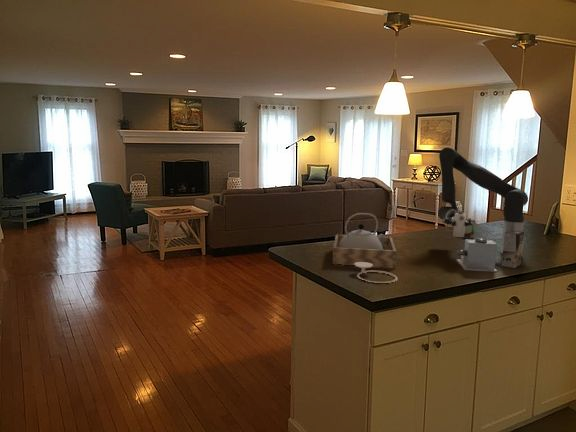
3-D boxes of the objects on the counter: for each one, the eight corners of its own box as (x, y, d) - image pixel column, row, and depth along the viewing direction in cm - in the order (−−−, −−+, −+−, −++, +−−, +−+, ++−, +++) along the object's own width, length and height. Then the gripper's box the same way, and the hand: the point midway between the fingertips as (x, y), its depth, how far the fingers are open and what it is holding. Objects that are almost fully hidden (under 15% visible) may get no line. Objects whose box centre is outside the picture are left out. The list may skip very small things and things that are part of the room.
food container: (480, 238, 281) (481, 222, 279) (471, 239, 278) (473, 222, 277) (465, 234, 292) (466, 218, 290) (457, 235, 290) (458, 219, 288)
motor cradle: (486, 262, 227) (489, 234, 224) (497, 271, 210) (499, 241, 208) (450, 260, 229) (452, 232, 227) (457, 269, 212) (459, 239, 210)
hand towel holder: (378, 277, 185) (342, 265, 201) (378, 287, 186) (342, 275, 202) (406, 270, 195) (370, 259, 211) (406, 280, 196) (369, 268, 212)
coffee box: (515, 268, 216) (519, 234, 214) (501, 265, 220) (504, 232, 218) (520, 264, 223) (524, 231, 221) (506, 262, 227) (509, 229, 225)
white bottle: (462, 235, 232) (464, 210, 230) (465, 238, 226) (467, 212, 223) (452, 234, 233) (454, 210, 230) (454, 237, 226) (456, 212, 224)
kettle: (371, 251, 245) (374, 208, 241) (396, 262, 224) (399, 215, 220) (328, 254, 236) (330, 210, 232) (350, 266, 215) (352, 217, 211)
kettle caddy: (390, 252, 242) (391, 237, 241) (395, 268, 213) (396, 251, 211) (335, 249, 246) (335, 234, 245) (332, 264, 217) (333, 247, 215)
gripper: (440, 210, 243) (446, 215, 226) (469, 211, 241) (477, 217, 224) (439, 224, 244) (444, 230, 228) (467, 225, 242) (475, 232, 226)
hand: (460, 223), depth 226 cm, fingers closed on white bottle, 5 cm apart
